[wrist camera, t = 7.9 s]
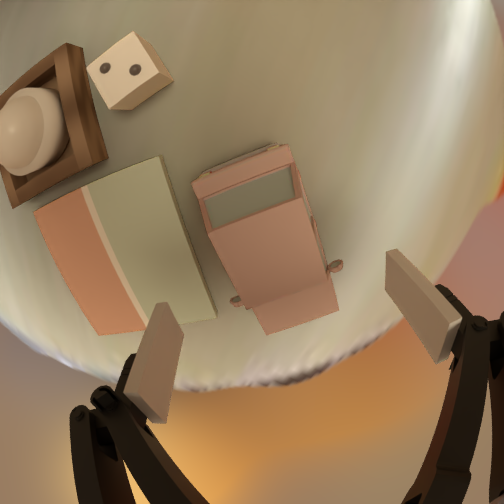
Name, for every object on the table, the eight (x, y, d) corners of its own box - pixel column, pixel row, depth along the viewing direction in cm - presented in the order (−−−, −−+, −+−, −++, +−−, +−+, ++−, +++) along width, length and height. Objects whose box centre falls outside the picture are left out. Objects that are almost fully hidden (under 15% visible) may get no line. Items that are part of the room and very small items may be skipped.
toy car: (252, 308, 29) (258, 383, 20) (187, 175, 22) (153, 212, 13) (335, 278, 28) (370, 346, 19) (290, 134, 21) (326, 143, 12)
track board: (38, 209, 22) (33, 212, 21) (161, 154, 21) (158, 156, 20) (101, 330, 30) (98, 335, 29) (217, 312, 29) (216, 318, 28)
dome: (12, 113, 16) (-31, 120, 10) (64, 73, 16) (18, 68, 10) (28, 179, 20) (-14, 199, 14) (81, 147, 19) (36, 160, 13)
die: (110, 74, 17) (83, 67, 13) (151, 44, 16) (130, 29, 12) (131, 110, 19) (106, 109, 15) (173, 80, 18) (157, 71, 14)
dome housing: (5, 106, 16) (-12, 108, 14) (82, 48, 15) (66, 42, 13) (28, 199, 22) (12, 209, 19) (108, 158, 21) (92, 163, 18)
